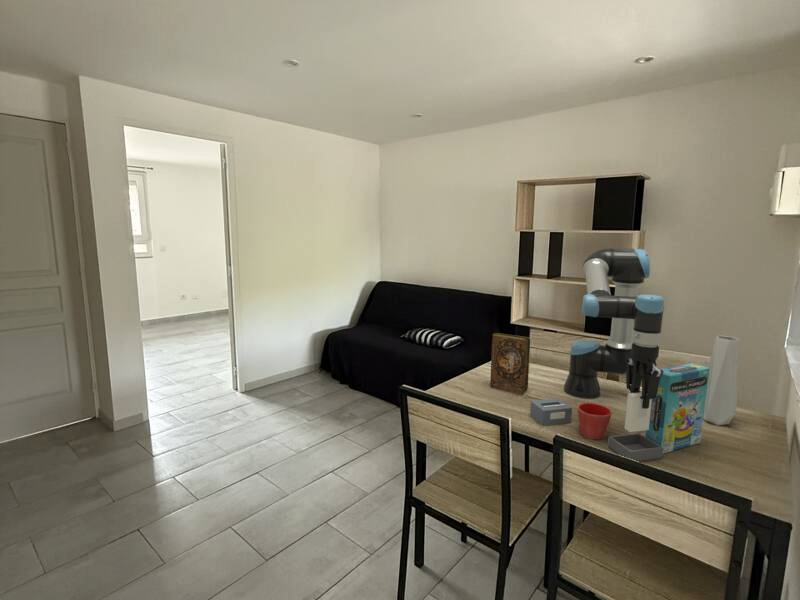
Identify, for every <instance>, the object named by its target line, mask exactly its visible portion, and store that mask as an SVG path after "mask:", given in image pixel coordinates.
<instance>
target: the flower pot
mask: <svg viewBox="0 0 800 600" xmlns="http://www.w3.org/2000/svg"><path fill="white" fill-rule="evenodd" d="M612 413H613V412H612V410H611V409H610V408H609V407H606V406H605V405H601V404H599V403H593V402H583V403H580V404H578V405H577V414H578V423H579V428H580V431H579V432H580V433H581V435H582V436H584V437H585V438H588V439H591V440H601V439H604V437H605V435H606V433H607V430H608V426H609V425H610V424H609V423H610V421H611V417H612Z"/></svg>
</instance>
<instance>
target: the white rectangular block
mask: <svg viewBox="0 0 800 600" xmlns="http://www.w3.org/2000/svg"><path fill="white" fill-rule="evenodd" d="M646 395H647V394H646ZM640 397H642V391H641V392H638V393H631V392H630V393H627V400H626V409H625V410H626V411H625V421H624V429H625V430H626V431H627V432H630V433H632V432H642V431H646V430H649V422H650V412H651V403H652V399H650V402H649V408H648V409H647V417H642V418H639V417H638V408H639V398H640Z"/></svg>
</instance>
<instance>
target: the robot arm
mask: <svg viewBox="0 0 800 600" xmlns="http://www.w3.org/2000/svg"><path fill="white" fill-rule="evenodd" d="M650 273H651V262H650V257H649V253H648V251H647V250H645V249H640V248H606V247H605V248H601V249H597V250H595V251H594V252H592V253H591V254H589V255H588V256H587V257H586V258H585V259H584V261H583V262H582V274H583V276H584V277H585V282H586V292H587V294H584V295H583V297H582V304H581V312H582V315H583V316H585V317H586V316H587V317H593V318H610V319H611V325H610V326H611V327H610V338H609V339H607V340H606V341H605V345H602V344H601V343H600V341H598V340H593V339H585V340H578V341H575V342H573V343H572V344H571V345H570V346H571V347H570V353H569V354H570V357H569V371H568V374H567V377H566V380H565V381H564V384H563V391H564V392H565V394H568V395H570V396H573V397H575V398H576V397H577V398H580V399H581V398H582V399H595V398H596V399H597V398H598V397H600V396H601V386H600V383H599V380H598V373H606V374H607V373H608V374H613V375H614V374H615V375H622V376H623V375H626V376H625V379H626V382H625V385H626V386H625V387H626V389H627V390H629V391H630V393H640V392H642V397H640V398H639V408H638V417H639V418H642V417H647V409H648V408H649V402H650V399H655V398H656V396H657V391H658V386H659V382H660V377H661V376H662V374H663V371H662V370H659V369H660V368H658V367H657V361H656V360H657V359H658V358H659V354H660V347H659V346H660V345H661V334H662V326H663V324H662V323H663V317H664V310H665V298H663V296H660V295H657V294H639V290H640V286H641V285H642V284H644V282H645V279H649V277H650ZM609 277H610V278H611V281H612V283H613V284H614V286H615V287H614V295H612V293H611V288H610V283H609ZM640 389H641V390H640ZM646 394H647V395H646Z"/></svg>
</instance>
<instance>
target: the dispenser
mask: <svg viewBox="0 0 800 600" xmlns="http://www.w3.org/2000/svg"><path fill="white" fill-rule="evenodd" d="M529 411H530V413H529V414H530V415H529V416H530V417H532V419H534V420H535V421H536V422H538V424H540V425H541V426H542V425H545V426H552V425H551V424H555V425H562V424H571V423H572V417H573V416H572V415H573V407H571V406H570V405H569V404H567V403H566V402H564V401H563V400H561V399H560V398H550V399H549V398H548V399H540V400H539V399H538V400H537V399H536V400H531V401H530V409H529Z"/></svg>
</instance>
